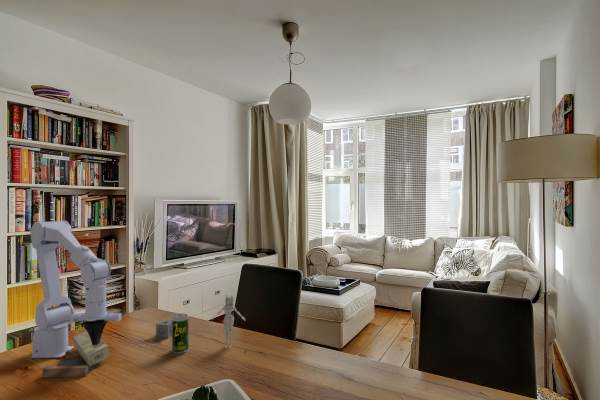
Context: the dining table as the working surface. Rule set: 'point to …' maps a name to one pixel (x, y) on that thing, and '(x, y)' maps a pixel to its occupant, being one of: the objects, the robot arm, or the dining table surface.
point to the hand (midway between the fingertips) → (95, 344)
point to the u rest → (69, 366)
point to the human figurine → (228, 317)
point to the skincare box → (90, 349)
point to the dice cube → (164, 329)
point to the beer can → (180, 333)
